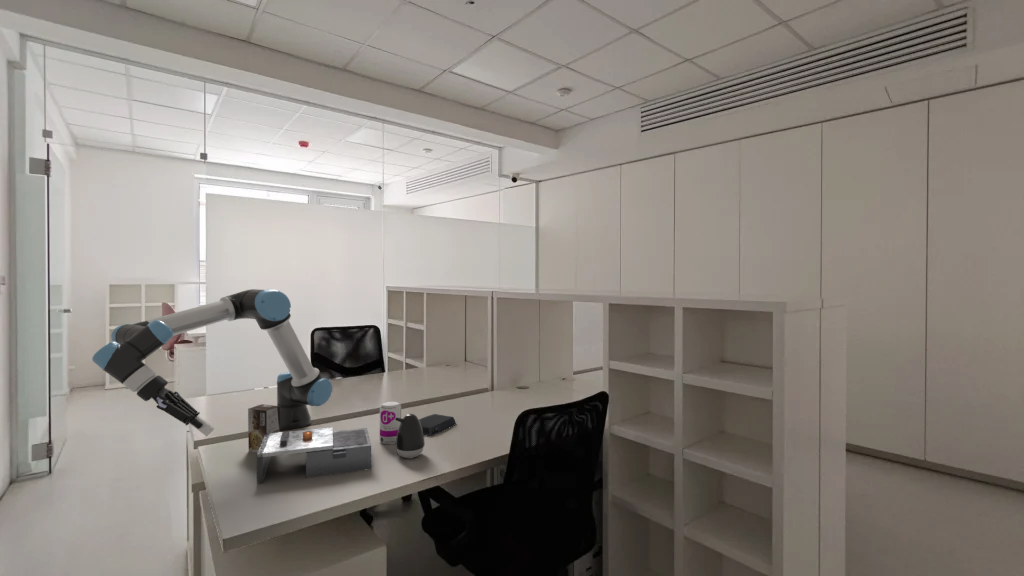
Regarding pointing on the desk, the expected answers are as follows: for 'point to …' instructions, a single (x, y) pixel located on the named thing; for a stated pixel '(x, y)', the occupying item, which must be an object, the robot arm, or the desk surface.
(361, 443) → the grey storage box
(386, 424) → the supplement can
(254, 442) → the coffee box
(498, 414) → the desk surface
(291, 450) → the lid
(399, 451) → the pump dispenser
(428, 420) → the external hard drive
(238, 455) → the desk surface
